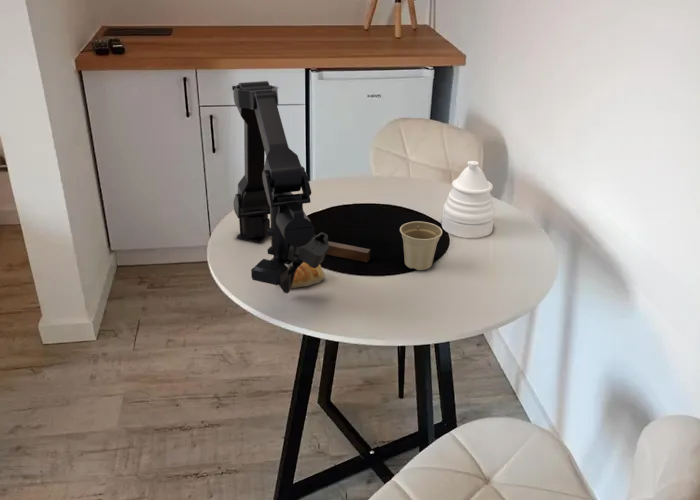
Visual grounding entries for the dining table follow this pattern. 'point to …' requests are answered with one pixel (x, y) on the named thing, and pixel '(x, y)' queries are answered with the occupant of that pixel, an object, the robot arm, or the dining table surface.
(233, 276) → the dining table surface
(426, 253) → the flower pot
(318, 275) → the pastry
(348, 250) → the strip
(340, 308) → the dining table surface
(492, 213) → the honey pot
